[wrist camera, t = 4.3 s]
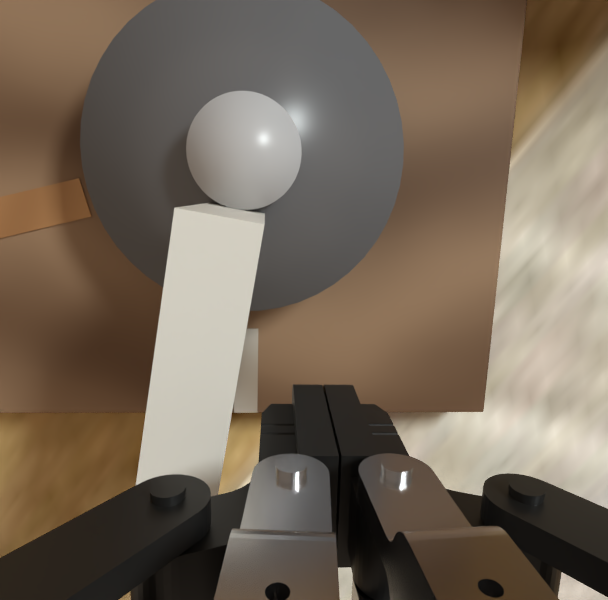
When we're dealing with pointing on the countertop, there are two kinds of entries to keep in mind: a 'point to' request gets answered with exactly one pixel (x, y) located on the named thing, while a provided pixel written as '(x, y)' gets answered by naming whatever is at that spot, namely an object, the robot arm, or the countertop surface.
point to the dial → (234, 186)
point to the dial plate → (292, 318)
